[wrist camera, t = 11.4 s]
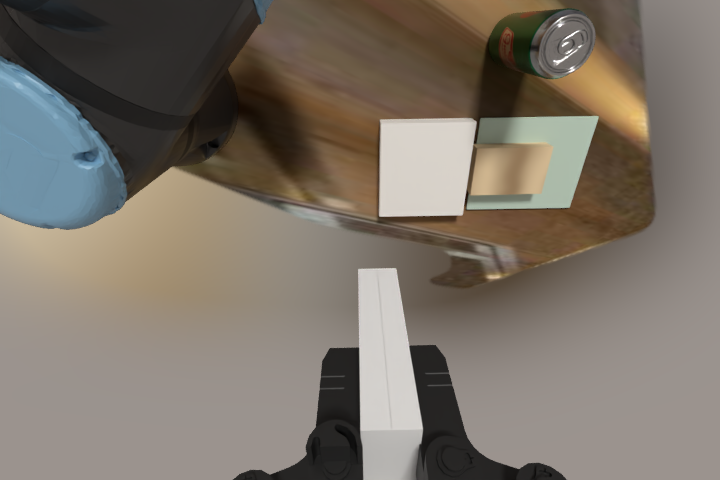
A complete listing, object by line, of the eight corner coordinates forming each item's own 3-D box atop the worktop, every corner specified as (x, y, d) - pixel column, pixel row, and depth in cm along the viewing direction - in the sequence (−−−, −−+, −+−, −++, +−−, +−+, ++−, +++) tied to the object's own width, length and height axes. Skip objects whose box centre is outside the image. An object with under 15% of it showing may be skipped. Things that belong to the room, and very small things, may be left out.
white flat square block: (378, 210, 48) (379, 216, 47) (379, 119, 42) (380, 123, 41) (458, 208, 48) (462, 215, 47) (471, 118, 42) (476, 121, 41)
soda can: (480, 31, 38) (526, 32, 27) (526, 2, 36) (593, -8, 26) (495, 76, 40) (543, 92, 30) (540, 50, 39) (606, 59, 28)
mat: (466, 208, 48) (466, 209, 48) (480, 117, 42) (480, 118, 42) (568, 206, 48) (569, 207, 48) (597, 116, 42) (598, 116, 42)
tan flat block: (466, 189, 47) (470, 195, 45) (472, 144, 44) (477, 148, 42) (534, 187, 47) (541, 193, 45) (545, 142, 44) (553, 146, 42)
